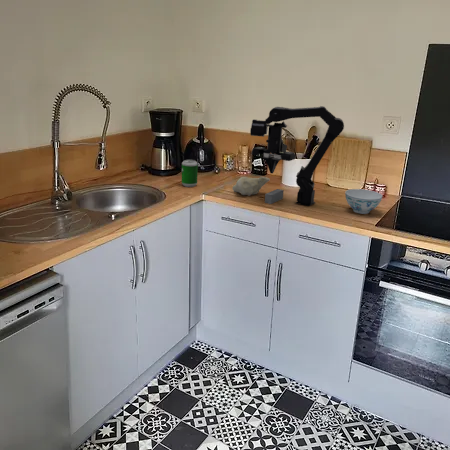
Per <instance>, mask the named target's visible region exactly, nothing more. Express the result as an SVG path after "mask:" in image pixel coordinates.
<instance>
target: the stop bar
mask: <svg viewBox="0 0 450 450" xmlns="http://www.w3.org/2000/svg"><path fill="white" fill-rule="evenodd" d="M283 199H284V189H280V188H277V189H274V190H271V191H269V192H267V193H265V195H264V203H265V204H269V205H272V204H275V203H276V202H278V201H281V200H283Z"/></svg>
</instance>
